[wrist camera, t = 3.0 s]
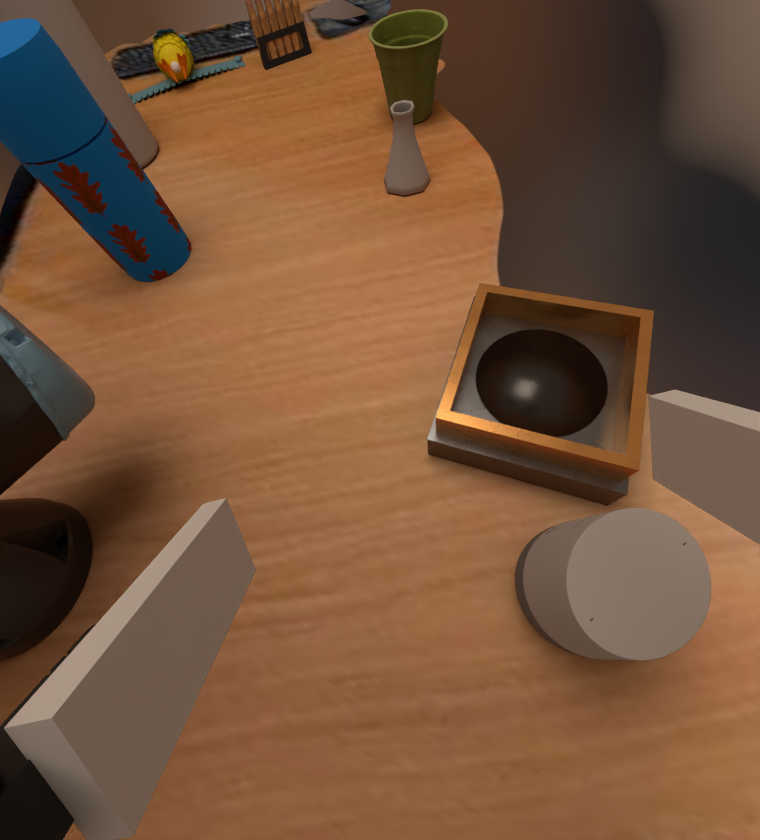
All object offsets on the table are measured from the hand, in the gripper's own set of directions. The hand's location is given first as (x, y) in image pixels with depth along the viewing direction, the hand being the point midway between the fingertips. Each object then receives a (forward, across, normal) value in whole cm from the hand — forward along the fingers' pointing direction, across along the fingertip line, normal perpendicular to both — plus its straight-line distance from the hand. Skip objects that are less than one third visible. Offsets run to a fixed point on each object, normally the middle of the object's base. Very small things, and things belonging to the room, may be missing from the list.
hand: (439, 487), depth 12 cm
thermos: (+53, -31, +21) cm, 65 cm away
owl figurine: (+93, -30, +64) cm, 117 cm away
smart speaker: (+16, +9, -21) cm, 28 cm away
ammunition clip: (+90, -6, +60) cm, 109 cm away
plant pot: (+68, +14, +36) cm, 78 cm away
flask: (+56, +9, +23) cm, 61 cm away
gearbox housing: (+28, +13, -7) cm, 32 cm away
